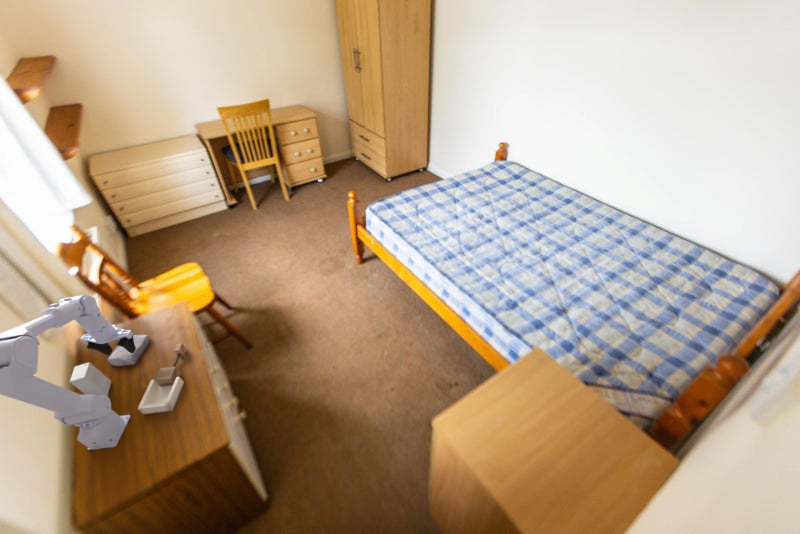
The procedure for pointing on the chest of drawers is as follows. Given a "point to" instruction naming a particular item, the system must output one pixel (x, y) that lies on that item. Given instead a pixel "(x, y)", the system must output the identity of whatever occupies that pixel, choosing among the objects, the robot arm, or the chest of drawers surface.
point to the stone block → (127, 358)
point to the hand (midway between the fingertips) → (121, 351)
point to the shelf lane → (160, 397)
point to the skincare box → (90, 380)
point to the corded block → (171, 369)
